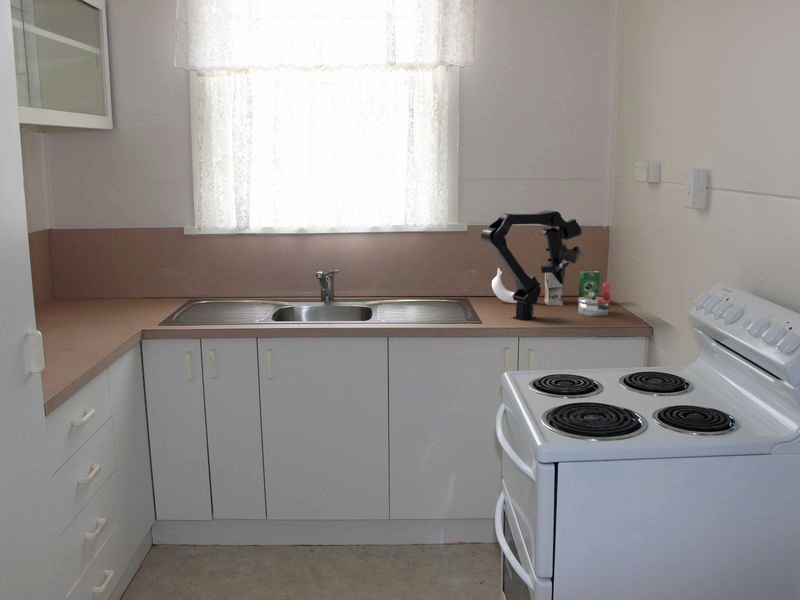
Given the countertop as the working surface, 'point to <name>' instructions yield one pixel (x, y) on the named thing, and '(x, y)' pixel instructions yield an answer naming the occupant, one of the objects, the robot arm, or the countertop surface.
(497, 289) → the banana
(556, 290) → the coffee box
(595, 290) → the coffee box
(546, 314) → the countertop surface
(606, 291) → the lid
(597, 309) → the pot
